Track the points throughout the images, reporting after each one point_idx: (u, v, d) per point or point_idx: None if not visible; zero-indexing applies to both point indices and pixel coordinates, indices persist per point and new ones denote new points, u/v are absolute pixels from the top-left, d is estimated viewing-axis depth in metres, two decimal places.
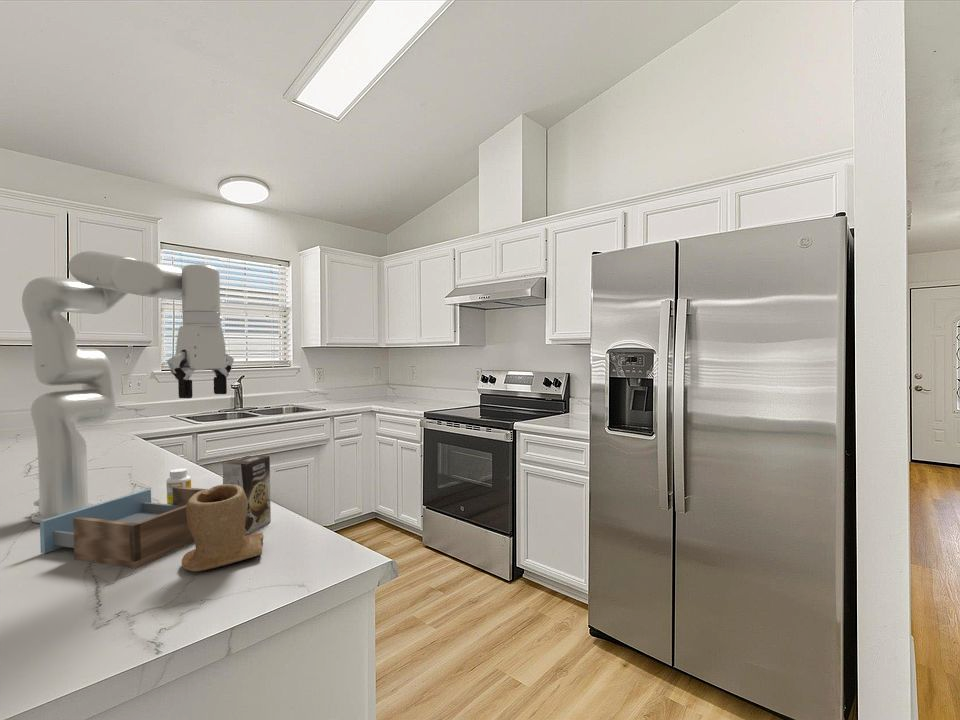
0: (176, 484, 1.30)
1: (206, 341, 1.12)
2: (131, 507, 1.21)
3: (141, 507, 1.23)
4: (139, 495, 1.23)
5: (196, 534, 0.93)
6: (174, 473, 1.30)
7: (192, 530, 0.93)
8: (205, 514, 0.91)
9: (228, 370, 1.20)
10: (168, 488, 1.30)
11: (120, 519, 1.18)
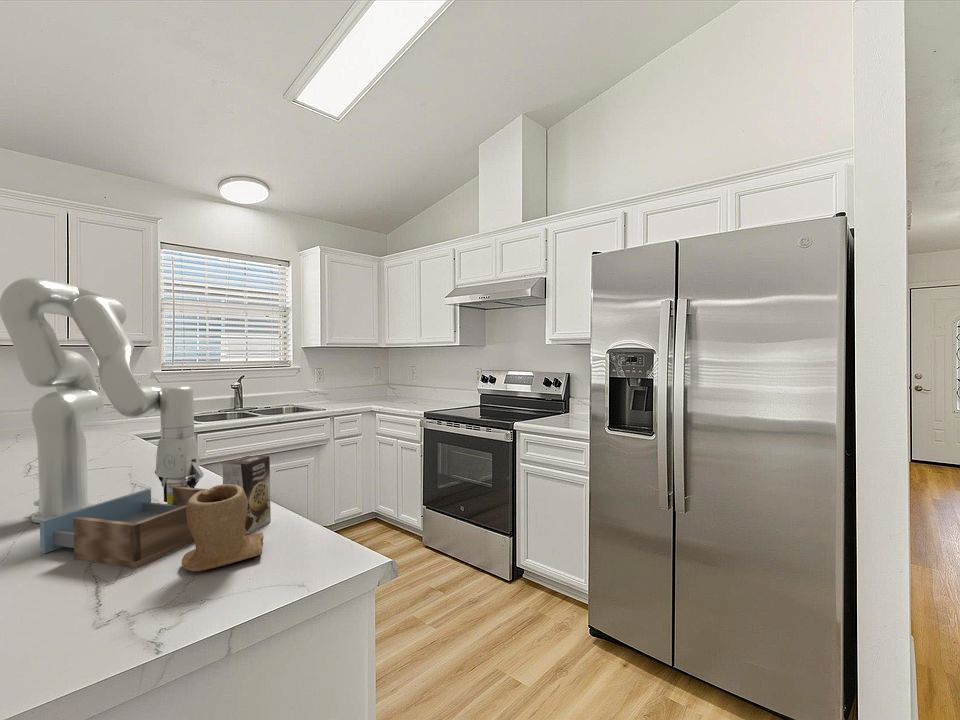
0: (176, 484, 1.30)
1: None
2: (131, 507, 1.21)
3: (141, 507, 1.23)
4: (139, 495, 1.23)
5: (196, 534, 0.93)
6: None
7: (192, 530, 0.93)
8: (205, 514, 0.91)
9: None
10: (168, 488, 1.30)
11: (120, 519, 1.18)
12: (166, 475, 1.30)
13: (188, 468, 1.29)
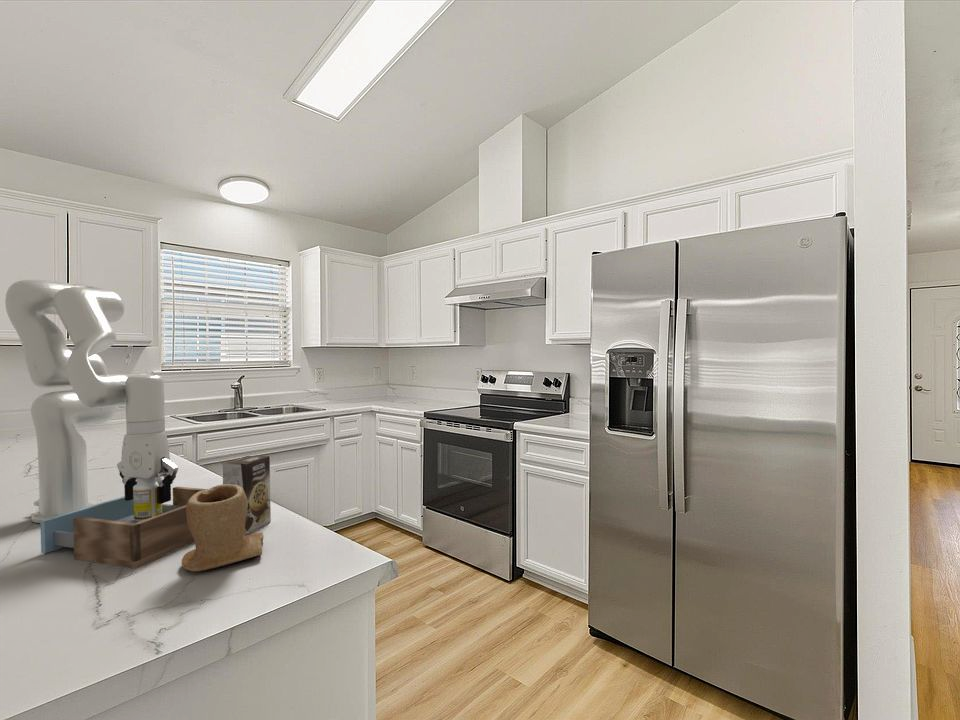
0: (143, 491, 1.15)
1: None
2: (131, 507, 1.21)
3: None
4: None
5: (196, 534, 0.93)
6: (141, 479, 1.16)
7: (192, 530, 0.93)
8: (205, 514, 0.91)
9: None
10: (135, 496, 1.15)
11: (120, 519, 1.18)
12: (132, 475, 1.15)
13: (157, 467, 1.14)
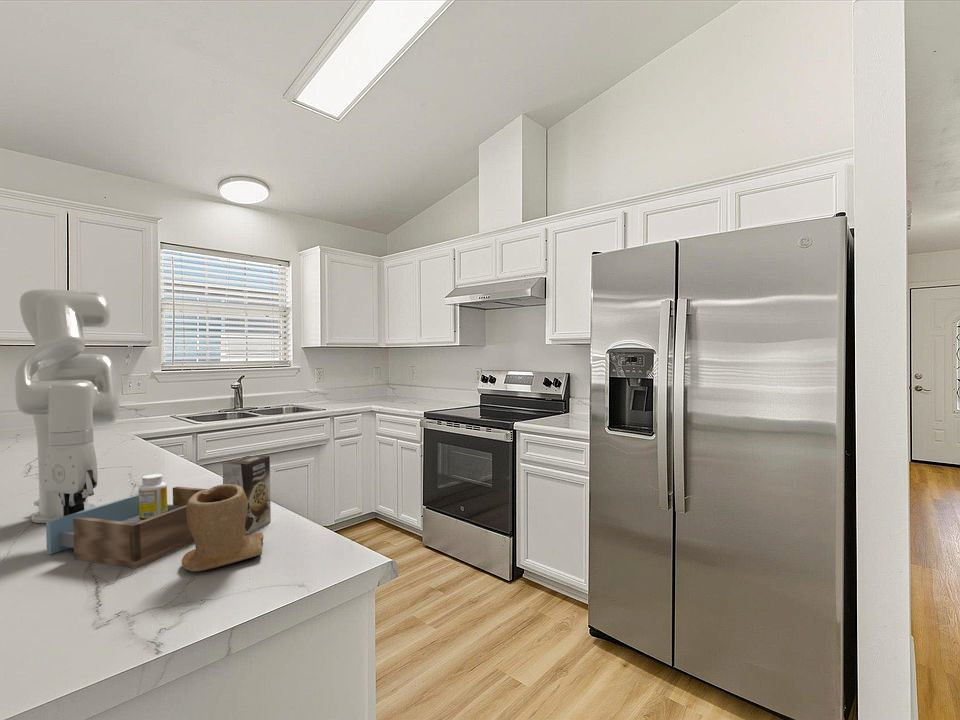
0: (149, 491, 1.15)
1: None
2: (136, 507, 1.20)
3: None
4: None
5: (196, 534, 0.93)
6: (147, 479, 1.15)
7: (192, 530, 0.93)
8: (205, 514, 0.91)
9: None
10: (140, 496, 1.15)
11: (126, 520, 1.17)
12: (55, 490, 1.07)
13: (81, 481, 1.07)
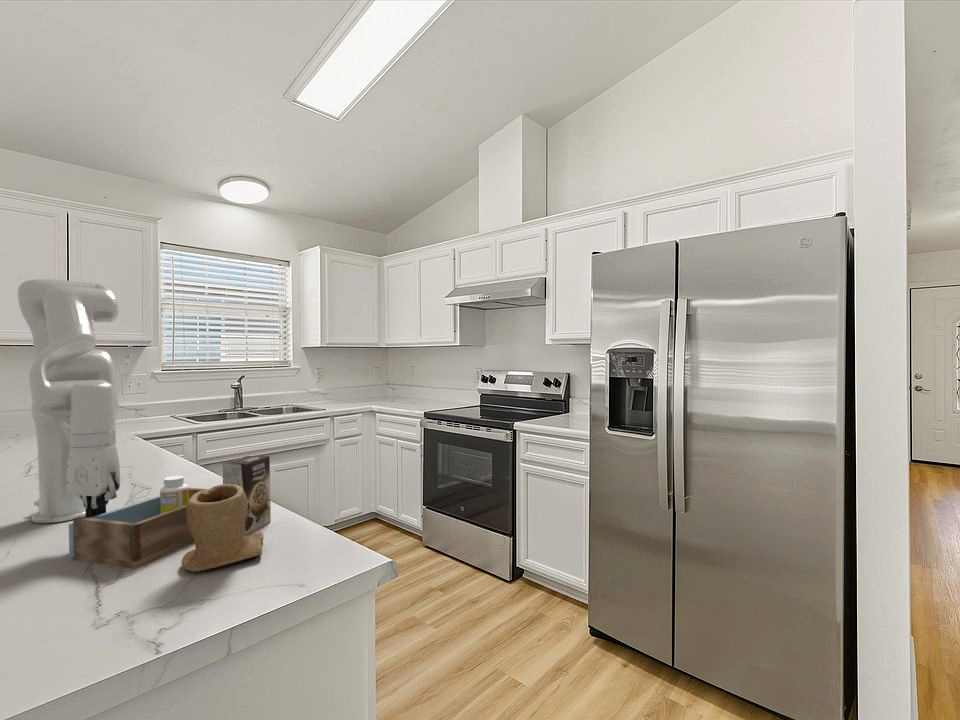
0: (171, 493, 1.13)
1: None
2: (157, 509, 1.19)
3: None
4: None
5: (196, 534, 0.93)
6: (169, 481, 1.13)
7: (192, 530, 0.93)
8: (205, 514, 0.91)
9: None
10: (162, 498, 1.13)
11: None
12: (78, 492, 1.06)
13: (104, 484, 1.05)
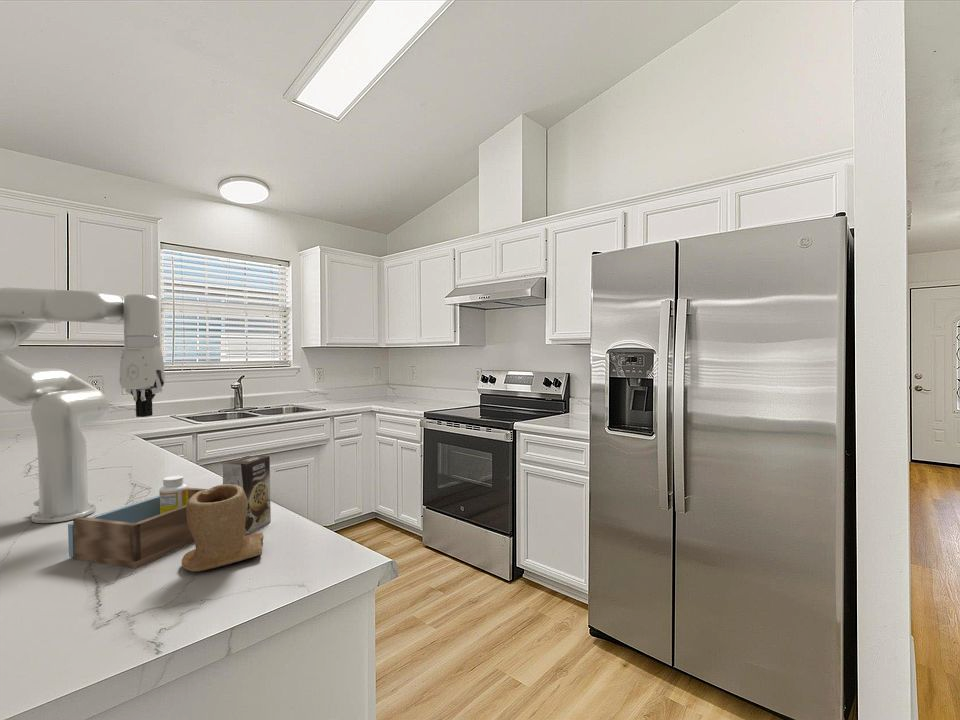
0: (170, 493, 1.13)
1: None
2: (156, 509, 1.19)
3: None
4: None
5: (196, 534, 0.93)
6: (168, 481, 1.13)
7: (192, 530, 0.93)
8: (205, 514, 0.91)
9: None
10: (161, 498, 1.13)
11: None
12: (130, 386, 1.25)
13: (152, 378, 1.24)
